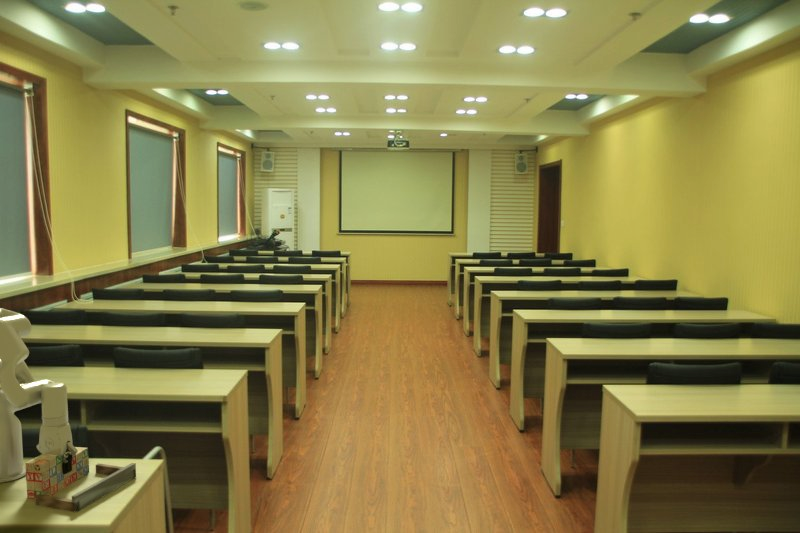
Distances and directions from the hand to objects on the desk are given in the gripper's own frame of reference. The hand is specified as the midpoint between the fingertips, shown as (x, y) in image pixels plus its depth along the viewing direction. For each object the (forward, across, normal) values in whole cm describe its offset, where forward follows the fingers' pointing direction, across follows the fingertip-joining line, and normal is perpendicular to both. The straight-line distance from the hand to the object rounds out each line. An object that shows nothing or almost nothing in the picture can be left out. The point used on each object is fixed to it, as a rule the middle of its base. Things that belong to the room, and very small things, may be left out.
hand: (57, 470), depth 206 cm
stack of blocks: (+6, 0, 0) cm, 6 cm away
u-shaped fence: (+5, +12, 0) cm, 14 cm away
